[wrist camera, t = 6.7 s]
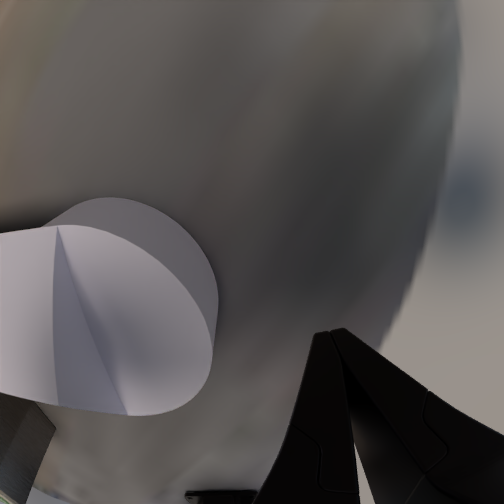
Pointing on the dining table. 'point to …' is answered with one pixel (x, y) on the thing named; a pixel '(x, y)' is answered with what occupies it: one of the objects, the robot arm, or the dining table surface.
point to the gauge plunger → (11, 419)
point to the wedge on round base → (106, 310)
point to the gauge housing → (25, 456)
